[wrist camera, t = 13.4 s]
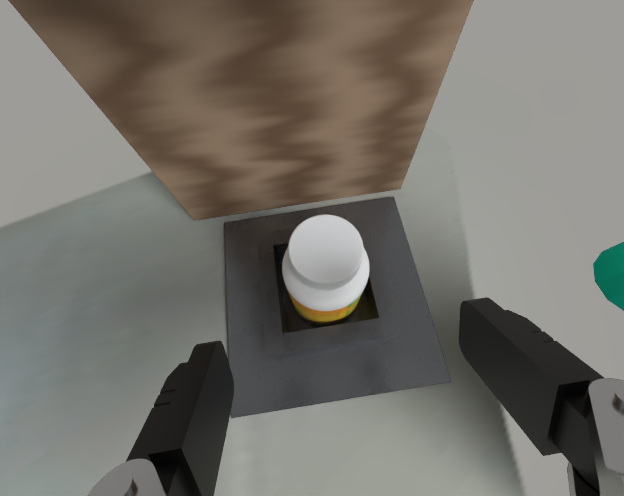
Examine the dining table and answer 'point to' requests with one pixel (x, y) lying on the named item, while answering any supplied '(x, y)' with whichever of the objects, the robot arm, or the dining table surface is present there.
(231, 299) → the socket
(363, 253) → the supplement bottle
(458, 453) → the dining table surface
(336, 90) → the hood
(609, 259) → the candle
